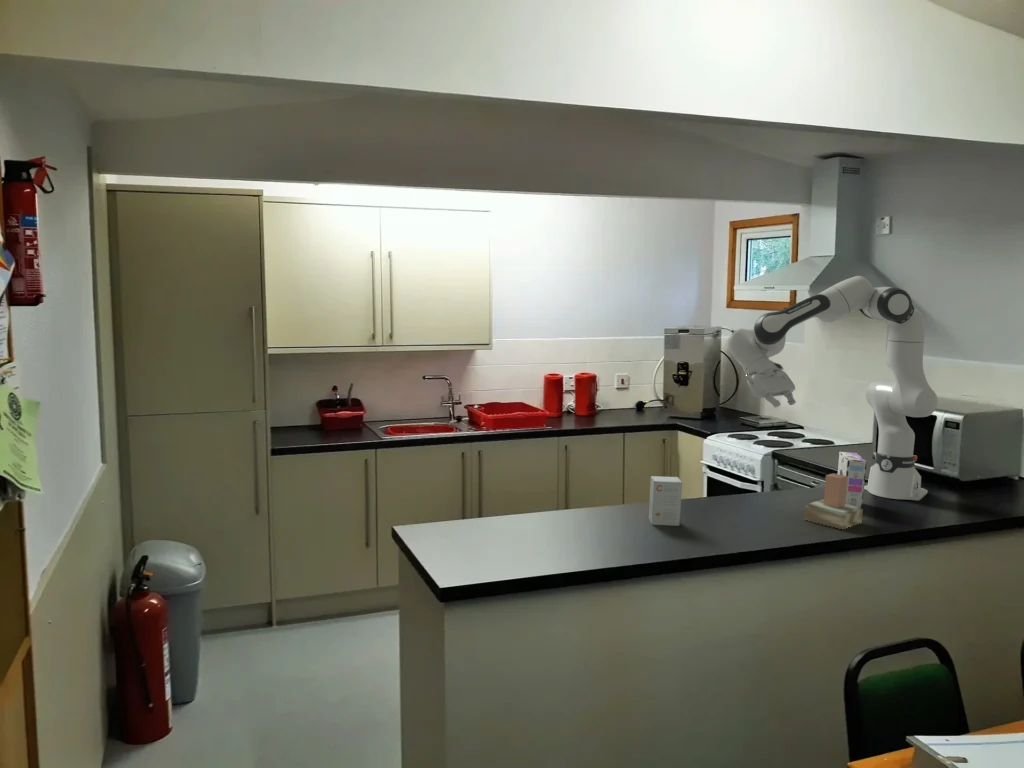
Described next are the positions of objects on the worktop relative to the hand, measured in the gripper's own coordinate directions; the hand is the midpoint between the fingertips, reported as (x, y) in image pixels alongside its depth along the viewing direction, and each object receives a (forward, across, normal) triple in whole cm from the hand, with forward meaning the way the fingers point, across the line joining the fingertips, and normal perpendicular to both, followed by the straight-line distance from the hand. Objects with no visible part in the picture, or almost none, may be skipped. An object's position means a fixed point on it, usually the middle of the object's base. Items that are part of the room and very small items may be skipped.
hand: (785, 405), depth 261 cm
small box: (+18, -53, +26) cm, 62 cm away
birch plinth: (+39, -9, +6) cm, 40 cm away
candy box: (+35, +13, +10) cm, 38 cm away
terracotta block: (+35, -9, +2) cm, 36 cm away
